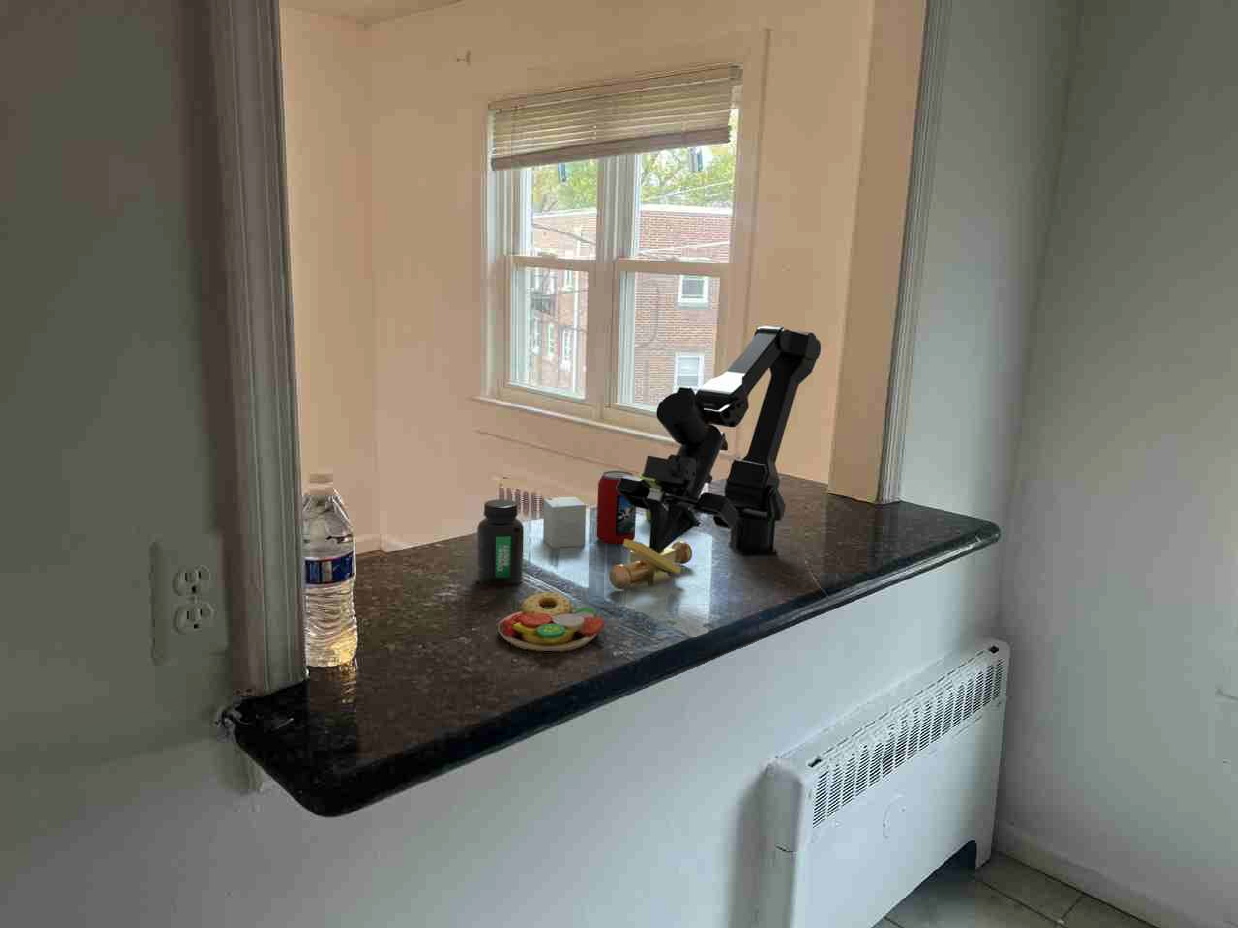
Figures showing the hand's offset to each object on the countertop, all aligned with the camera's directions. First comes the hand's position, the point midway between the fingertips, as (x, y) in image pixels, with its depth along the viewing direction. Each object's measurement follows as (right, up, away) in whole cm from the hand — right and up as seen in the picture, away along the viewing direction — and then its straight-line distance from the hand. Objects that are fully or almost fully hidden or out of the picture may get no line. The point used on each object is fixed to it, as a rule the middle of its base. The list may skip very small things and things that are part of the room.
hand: (653, 552), depth 130 cm
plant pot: (+3, +2, +42) cm, 42 cm away
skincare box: (-14, -1, +25) cm, 29 cm away
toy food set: (-14, -10, -14) cm, 22 cm away
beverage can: (-6, -1, +27) cm, 27 cm away
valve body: (0, -5, +8) cm, 10 cm away
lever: (+4, -4, +6) cm, 8 cm away
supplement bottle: (-23, -5, +5) cm, 24 cm away
